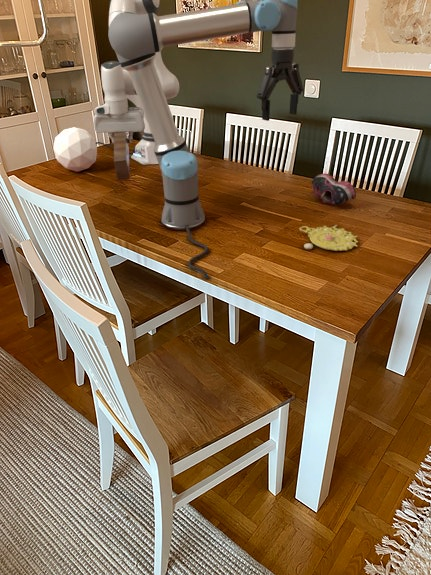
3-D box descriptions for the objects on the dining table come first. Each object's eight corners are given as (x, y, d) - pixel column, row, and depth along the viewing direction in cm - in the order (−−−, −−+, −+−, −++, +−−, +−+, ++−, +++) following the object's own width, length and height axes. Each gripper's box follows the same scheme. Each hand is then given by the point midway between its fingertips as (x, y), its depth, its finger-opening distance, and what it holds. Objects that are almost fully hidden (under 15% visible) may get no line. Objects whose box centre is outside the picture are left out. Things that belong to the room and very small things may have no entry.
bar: (129, 179, 168) (126, 160, 163) (117, 180, 168) (113, 161, 162) (128, 145, 188) (125, 127, 182) (117, 146, 187) (114, 128, 182)
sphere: (84, 186, 210) (70, 160, 191) (54, 166, 215) (37, 139, 196) (110, 158, 215) (99, 131, 196) (80, 139, 219) (66, 110, 201)
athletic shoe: (320, 172, 177) (296, 180, 173) (357, 167, 157) (330, 175, 153) (326, 200, 180) (302, 208, 176) (363, 198, 160) (336, 207, 156)
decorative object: (343, 255, 128) (285, 234, 139) (342, 262, 130) (284, 241, 140) (372, 230, 142) (317, 213, 152) (371, 237, 143) (316, 219, 153)
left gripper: (144, 105, 178) (148, 140, 186) (94, 106, 179) (99, 141, 186) (141, 108, 173) (145, 144, 180) (89, 109, 174) (96, 145, 181)
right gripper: (300, 45, 153) (295, 110, 164) (246, 51, 140) (246, 121, 151) (317, 46, 148) (311, 113, 159) (263, 52, 135) (261, 124, 146)
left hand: (121, 142), depth 183 cm, fingers closed on bar, 5 cm apart
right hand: (279, 117), depth 155 cm, fingers open, 13 cm apart
